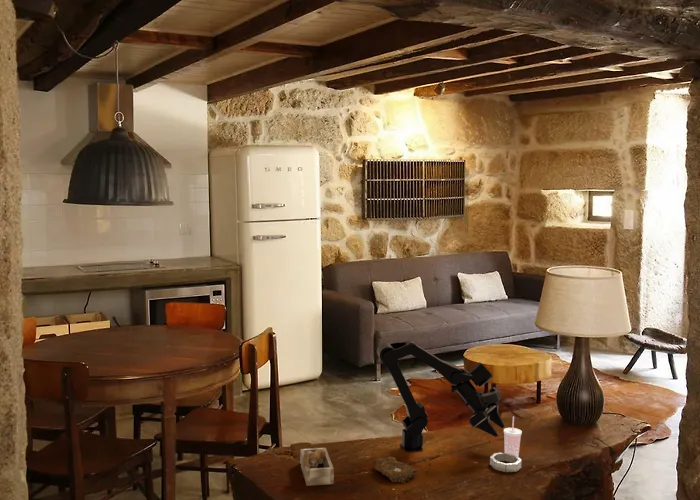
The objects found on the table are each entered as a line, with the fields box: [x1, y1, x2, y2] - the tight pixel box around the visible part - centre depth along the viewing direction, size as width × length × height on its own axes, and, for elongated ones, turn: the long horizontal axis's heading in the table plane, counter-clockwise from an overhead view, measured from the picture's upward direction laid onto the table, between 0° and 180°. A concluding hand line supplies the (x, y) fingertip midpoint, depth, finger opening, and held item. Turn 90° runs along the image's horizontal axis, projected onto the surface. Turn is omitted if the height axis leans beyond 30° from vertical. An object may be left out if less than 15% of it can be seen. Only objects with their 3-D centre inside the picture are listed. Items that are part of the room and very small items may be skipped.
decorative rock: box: [374, 455, 418, 484], centre depth 228 cm, size 11×4×15 cm
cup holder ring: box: [489, 452, 523, 473], centre depth 235 cm, size 10×10×2 cm
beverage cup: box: [503, 416, 523, 457], centre depth 243 cm, size 6×6×14 cm
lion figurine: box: [303, 449, 326, 469], centre depth 226 cm, size 15×5×9 cm, turn 161°
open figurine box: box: [299, 447, 335, 487], centre depth 226 cm, size 8×16×5 cm, turn 11°
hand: (500, 431), depth 244 cm, fingers open, 9 cm apart
